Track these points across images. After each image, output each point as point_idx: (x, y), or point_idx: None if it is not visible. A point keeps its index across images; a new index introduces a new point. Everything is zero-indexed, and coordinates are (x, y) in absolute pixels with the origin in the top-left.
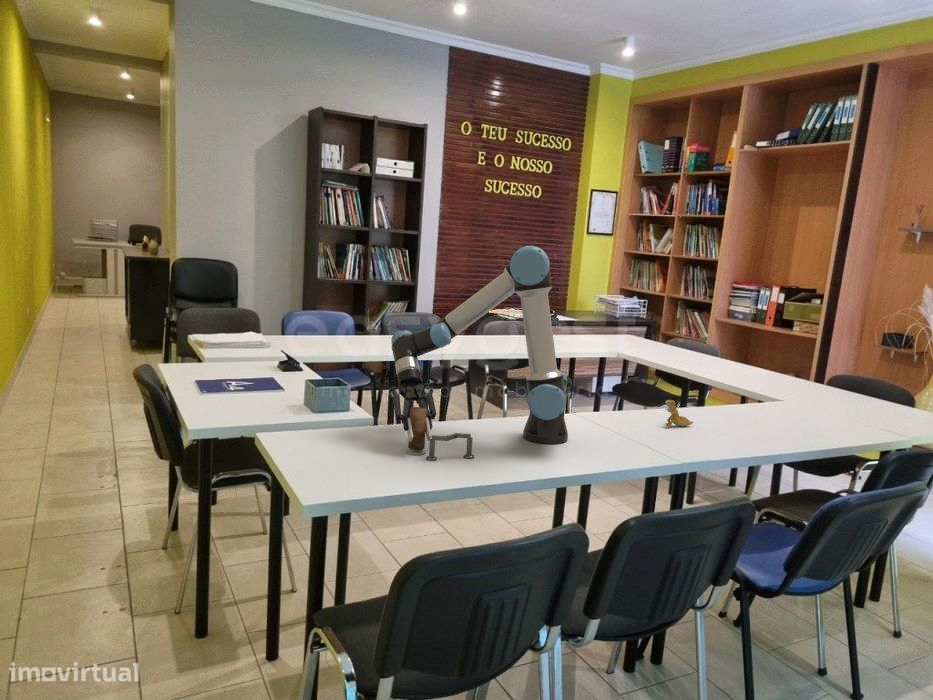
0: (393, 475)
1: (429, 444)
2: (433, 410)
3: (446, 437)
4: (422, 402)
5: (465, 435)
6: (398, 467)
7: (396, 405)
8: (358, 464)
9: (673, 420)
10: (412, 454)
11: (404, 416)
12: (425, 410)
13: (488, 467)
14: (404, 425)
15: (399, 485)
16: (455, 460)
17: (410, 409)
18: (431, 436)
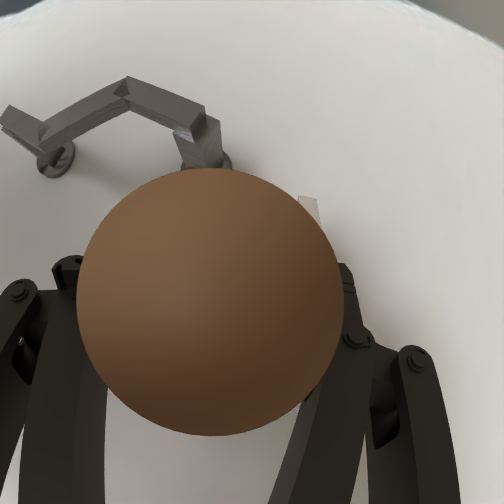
0: (407, 82)
1: (220, 133)
2: (1, 324)
3: (132, 79)
4: (50, 474)
5: (23, 113)
6: (379, 133)
7: (452, 472)
8: (485, 220)
9: None
10: None
11: (365, 341)
12: (130, 195)
13: (80, 56)
14: (353, 287)
15: (401, 28)
16: (122, 133)
17: (343, 310)
18: None
